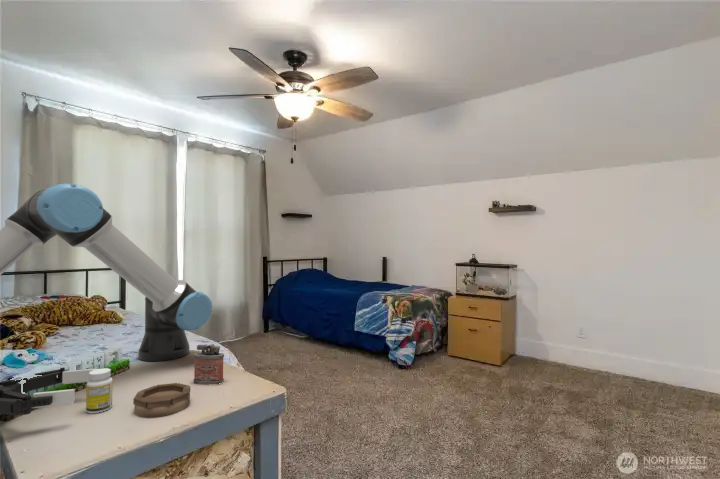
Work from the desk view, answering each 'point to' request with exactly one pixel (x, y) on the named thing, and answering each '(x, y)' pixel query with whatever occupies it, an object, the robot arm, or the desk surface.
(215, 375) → the lighter
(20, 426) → the desk surface
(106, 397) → the supplement bottle
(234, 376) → the desk surface
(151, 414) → the coaster stand
